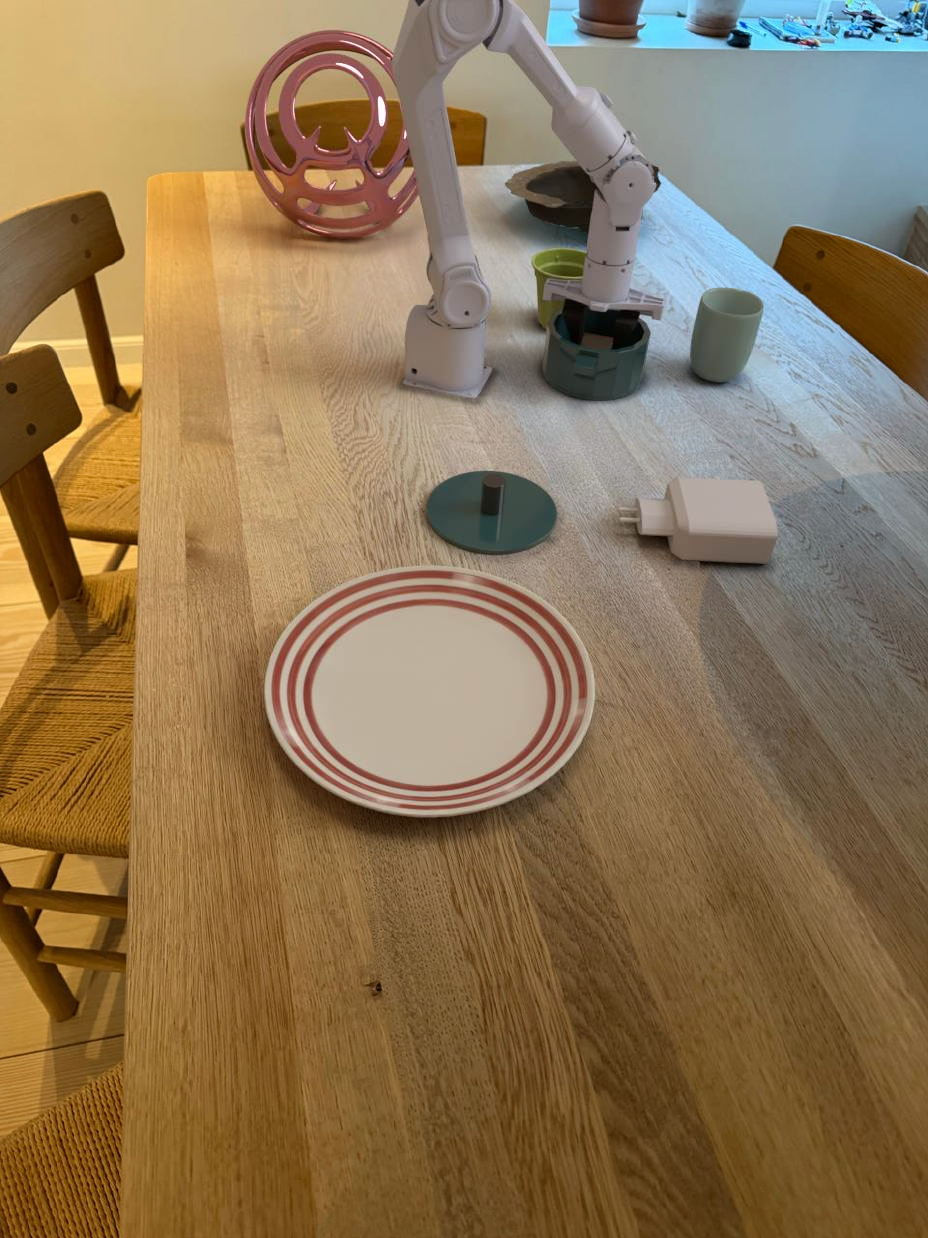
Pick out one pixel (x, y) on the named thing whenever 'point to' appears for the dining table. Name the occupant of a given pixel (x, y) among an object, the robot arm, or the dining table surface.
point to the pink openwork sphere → (306, 148)
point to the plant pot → (555, 275)
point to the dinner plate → (429, 691)
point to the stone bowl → (559, 193)
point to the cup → (724, 333)
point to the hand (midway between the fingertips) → (593, 360)
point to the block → (596, 341)
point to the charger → (710, 520)
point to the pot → (594, 358)
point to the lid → (491, 512)
